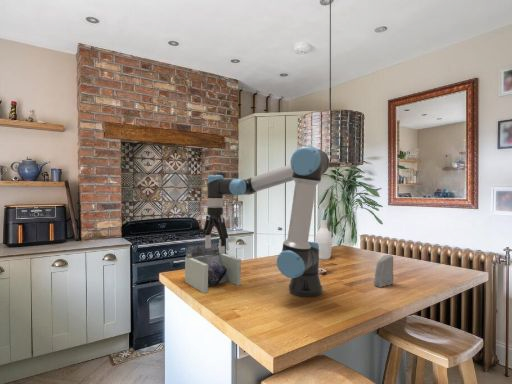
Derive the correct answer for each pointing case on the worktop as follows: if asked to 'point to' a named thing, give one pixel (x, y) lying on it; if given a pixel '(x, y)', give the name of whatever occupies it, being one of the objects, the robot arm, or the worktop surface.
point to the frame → (199, 271)
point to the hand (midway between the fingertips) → (214, 250)
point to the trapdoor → (207, 257)
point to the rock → (216, 272)
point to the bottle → (324, 241)
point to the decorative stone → (384, 271)
